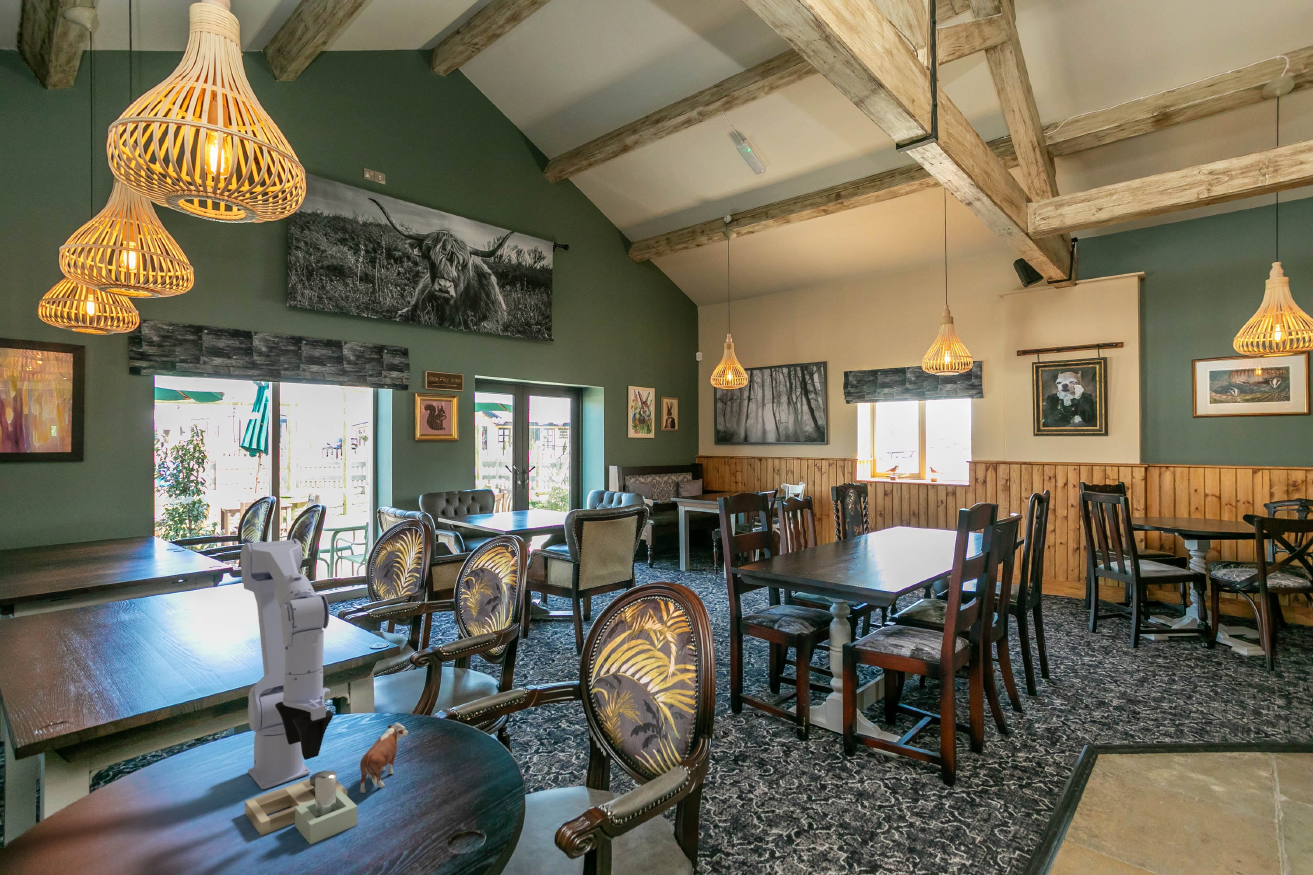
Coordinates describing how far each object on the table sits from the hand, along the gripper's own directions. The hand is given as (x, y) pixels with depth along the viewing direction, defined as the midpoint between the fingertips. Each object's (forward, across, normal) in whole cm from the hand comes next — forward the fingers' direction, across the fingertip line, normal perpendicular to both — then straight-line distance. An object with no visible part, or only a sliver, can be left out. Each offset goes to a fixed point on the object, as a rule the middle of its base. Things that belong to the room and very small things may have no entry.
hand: (303, 749), depth 107 cm
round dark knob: (+10, 0, -3) cm, 10 cm away
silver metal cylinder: (+10, -8, -1) cm, 13 cm away
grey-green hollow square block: (+10, -8, -1) cm, 13 cm away
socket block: (+10, 0, 0) cm, 10 cm away
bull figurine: (+10, 0, -14) cm, 17 cm away
